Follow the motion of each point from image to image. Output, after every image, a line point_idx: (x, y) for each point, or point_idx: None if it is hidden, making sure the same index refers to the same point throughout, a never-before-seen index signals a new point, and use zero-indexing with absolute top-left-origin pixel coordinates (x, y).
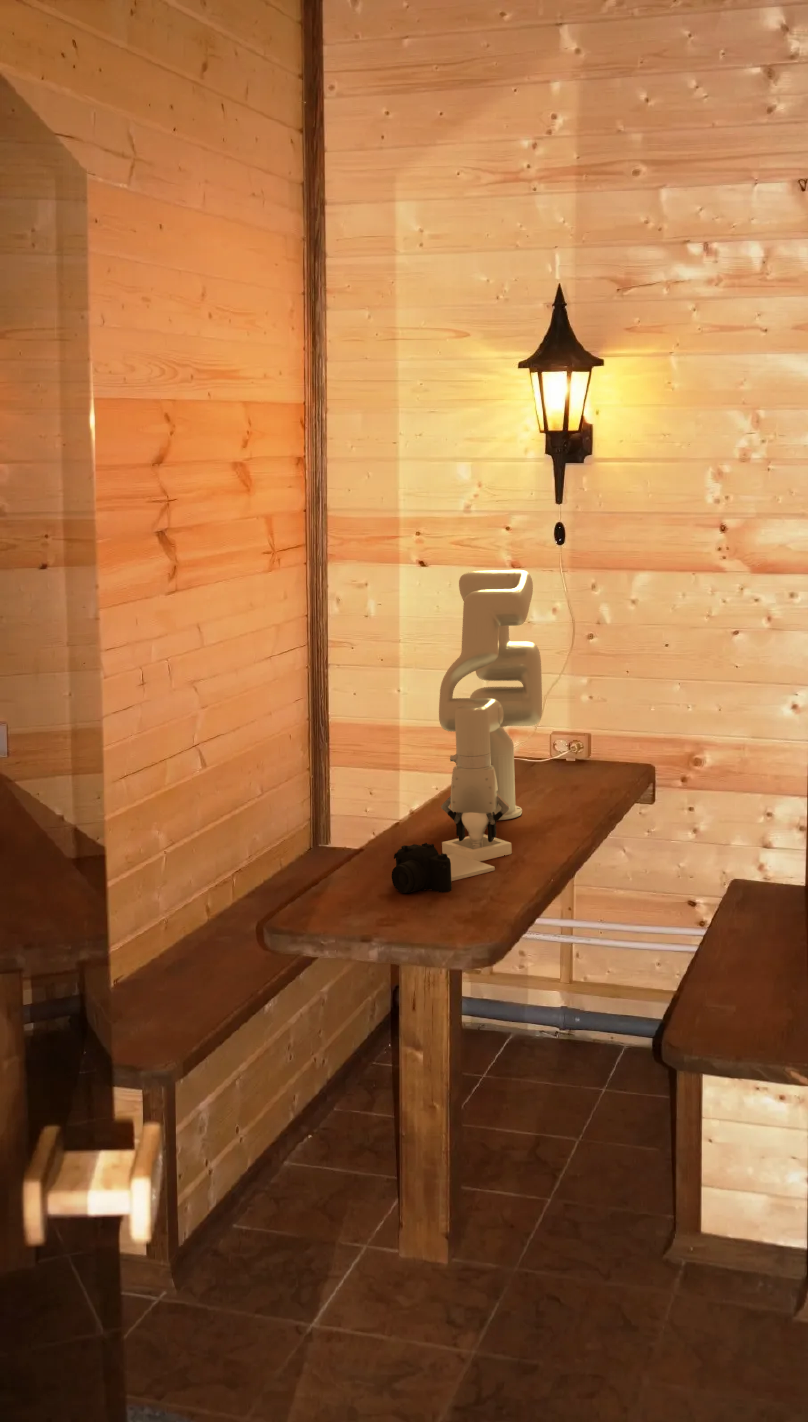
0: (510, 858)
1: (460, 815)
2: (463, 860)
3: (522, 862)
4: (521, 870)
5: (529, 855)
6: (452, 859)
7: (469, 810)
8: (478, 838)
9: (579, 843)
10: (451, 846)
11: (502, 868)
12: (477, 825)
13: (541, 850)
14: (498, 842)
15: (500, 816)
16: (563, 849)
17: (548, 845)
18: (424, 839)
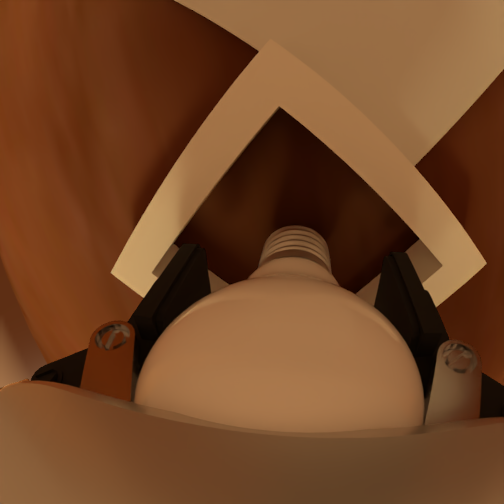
0: (114, 178)
1: (438, 408)
2: (324, 28)
3: (57, 133)
4: (37, 32)
5: (72, 232)
6: (398, 47)
7: (322, 462)
8: (268, 262)
9: (40, 342)
10: (440, 198)
11: (102, 19)
12: (235, 286)
13: (71, 290)
14: None
15: (46, 367)
16: (35, 298)
17: (83, 336)
18: (489, 374)
